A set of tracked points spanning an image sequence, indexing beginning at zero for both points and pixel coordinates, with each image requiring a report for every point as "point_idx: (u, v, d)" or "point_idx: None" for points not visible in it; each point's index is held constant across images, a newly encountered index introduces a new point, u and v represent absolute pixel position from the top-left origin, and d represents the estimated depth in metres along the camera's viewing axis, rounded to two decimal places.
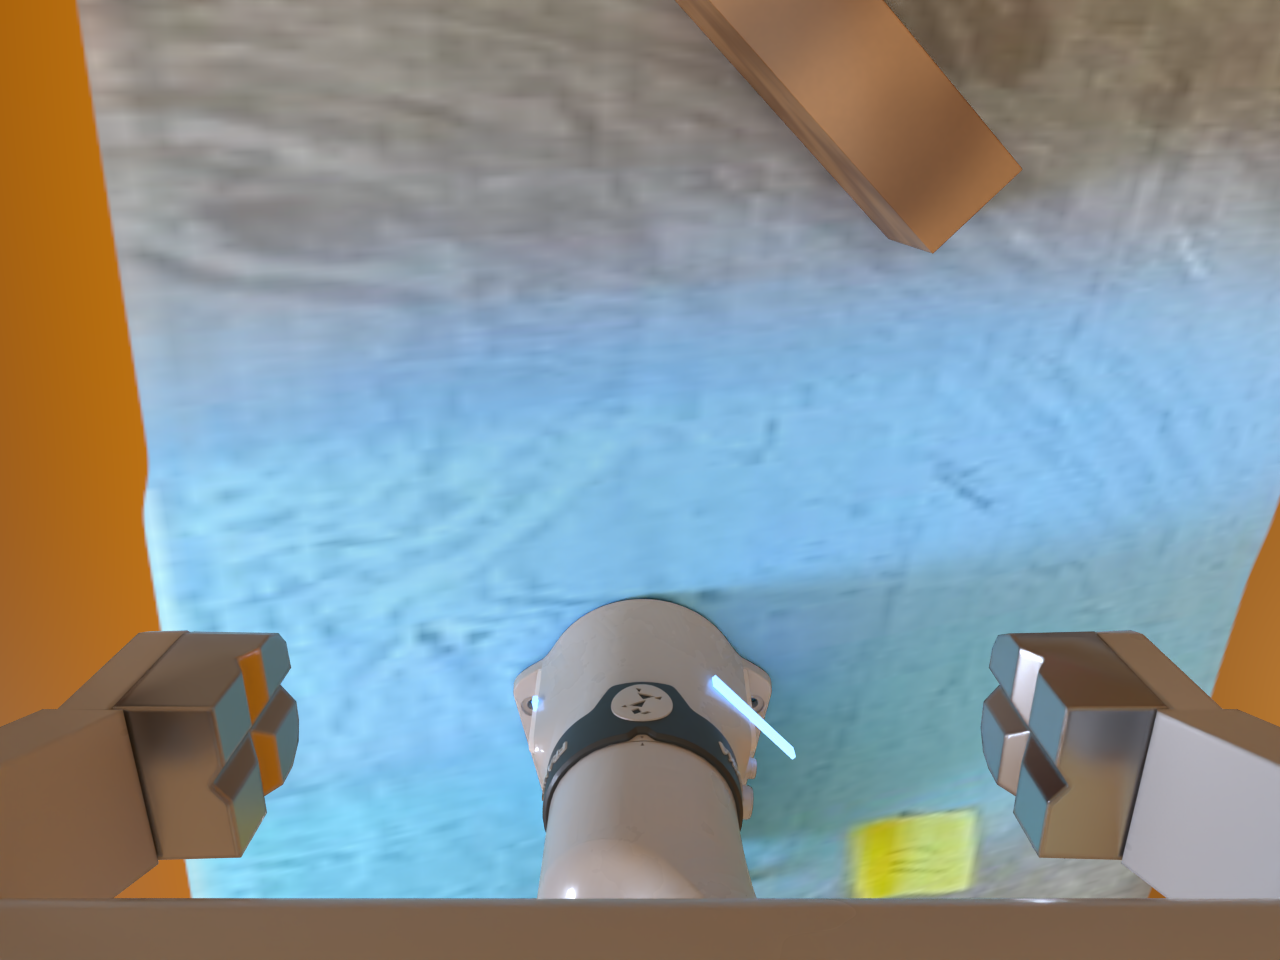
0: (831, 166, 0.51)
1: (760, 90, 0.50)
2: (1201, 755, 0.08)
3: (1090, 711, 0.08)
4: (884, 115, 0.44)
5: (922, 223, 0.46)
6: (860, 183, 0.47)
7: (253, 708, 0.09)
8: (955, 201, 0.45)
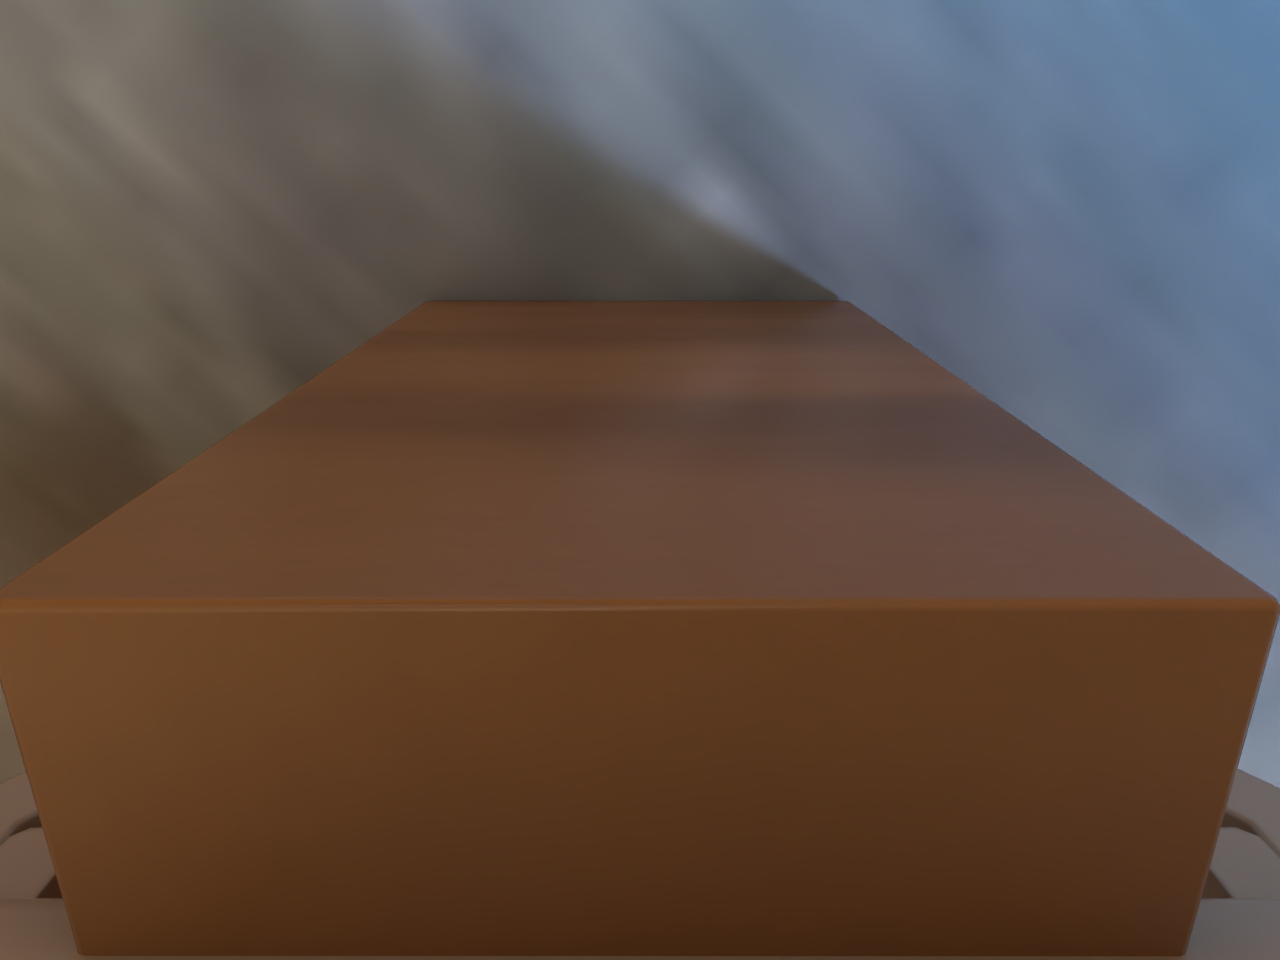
0: None
1: None
2: None
3: None
4: None
5: (1092, 882, 0.04)
6: None
7: None
8: (721, 826, 0.04)
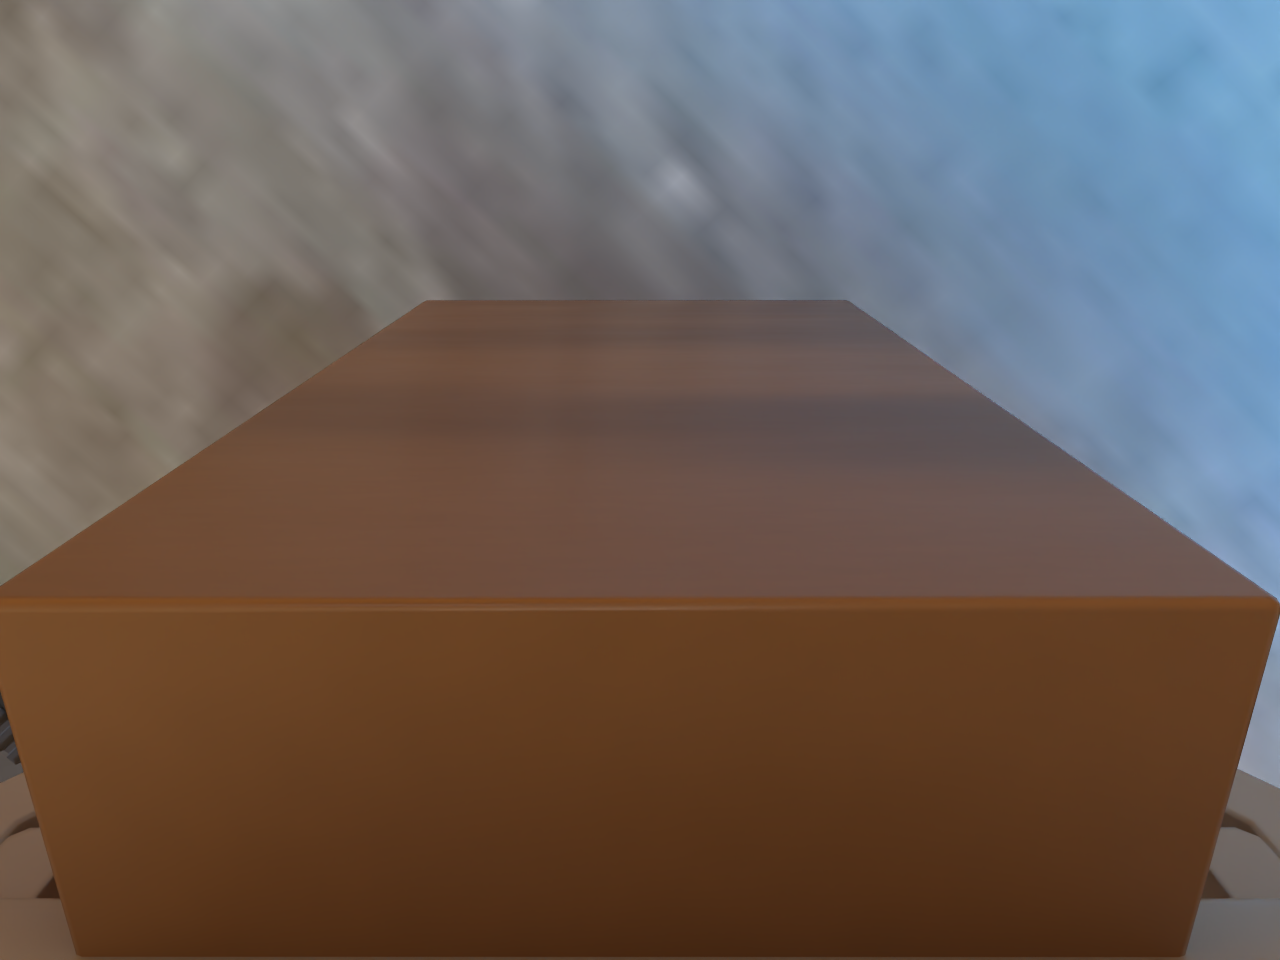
0: None
1: None
2: None
3: None
4: None
5: (1092, 882, 0.04)
6: None
7: None
8: (721, 825, 0.04)
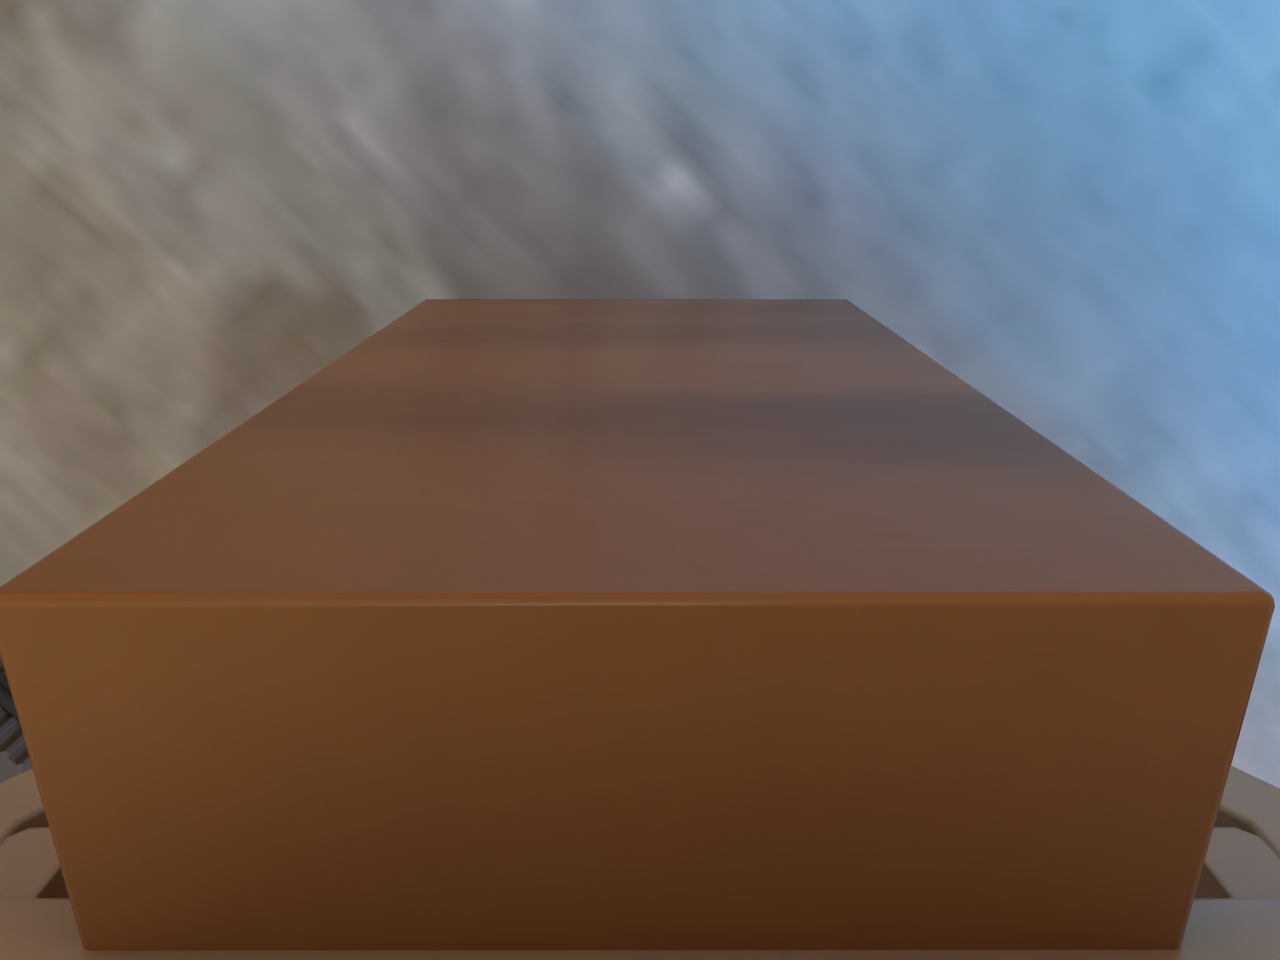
0: None
1: None
2: None
3: None
4: None
5: (1088, 875, 0.05)
6: None
7: None
8: (722, 817, 0.04)
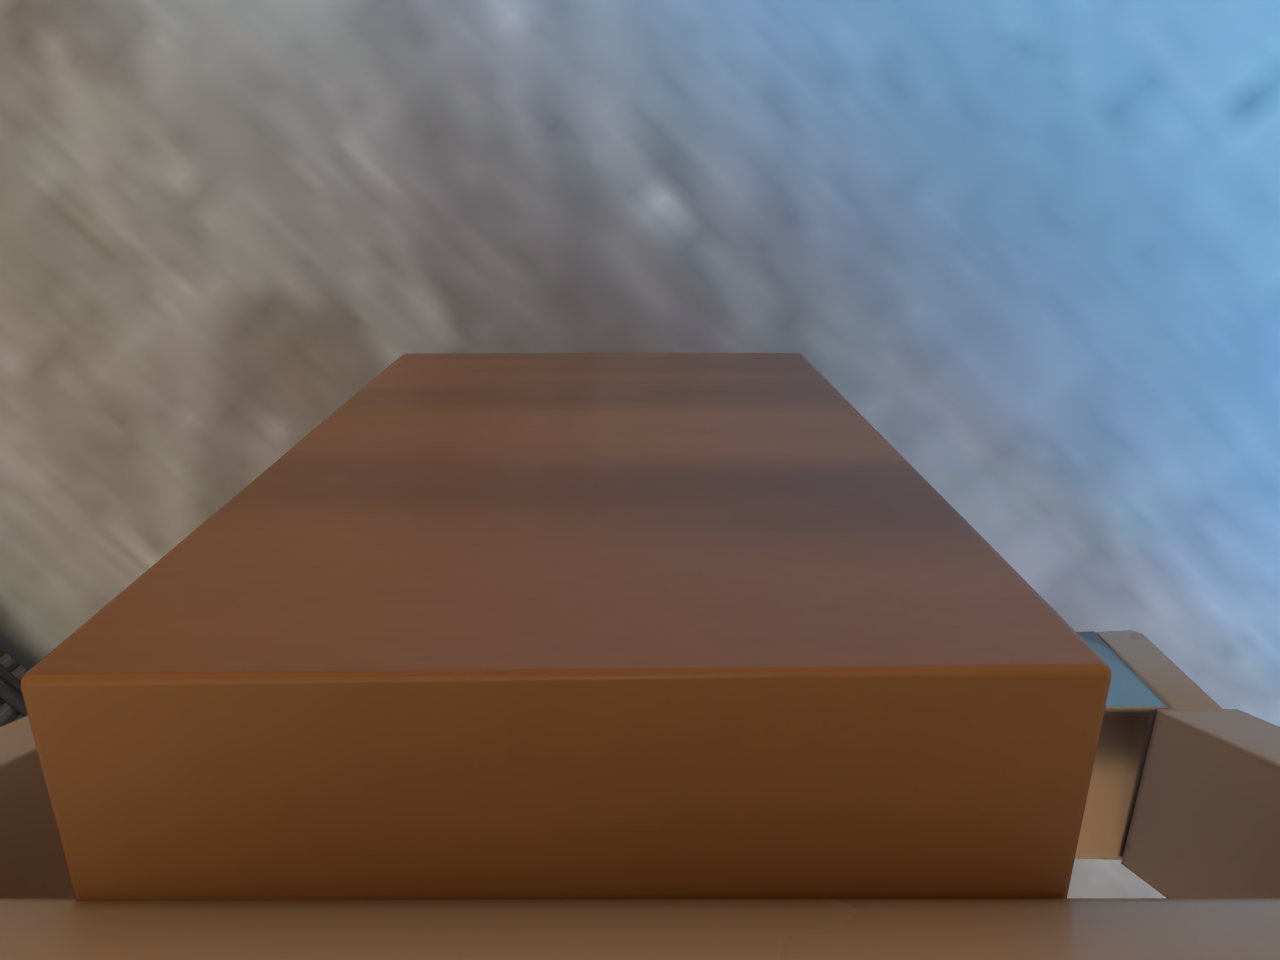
0: None
1: None
2: (1201, 755, 0.08)
3: None
4: None
5: None
6: None
7: None
8: (655, 858, 0.05)
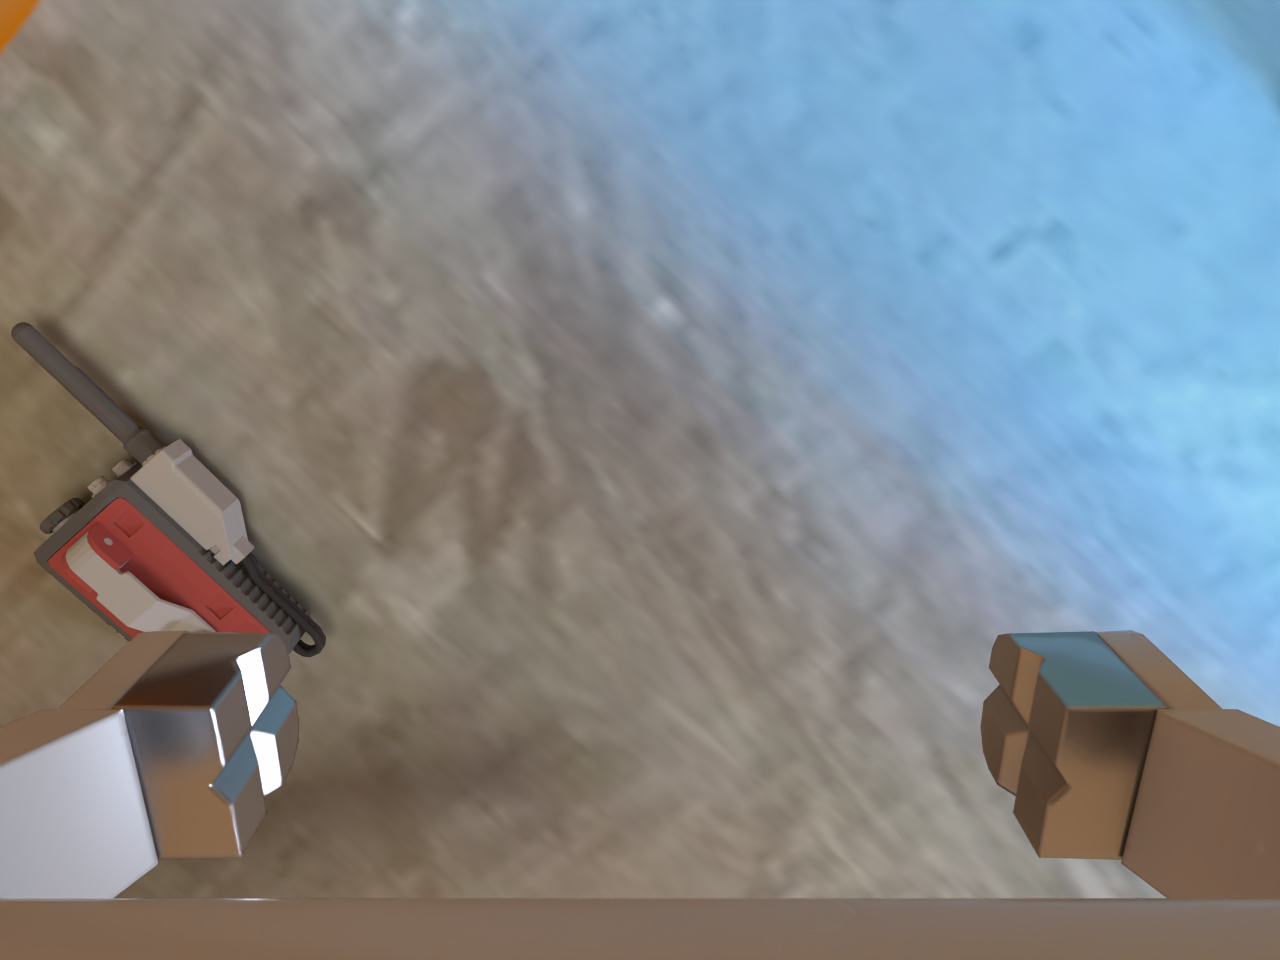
0: None
1: None
2: (1202, 756, 0.08)
3: (1090, 711, 0.08)
4: None
5: None
6: None
7: (253, 708, 0.09)
8: None
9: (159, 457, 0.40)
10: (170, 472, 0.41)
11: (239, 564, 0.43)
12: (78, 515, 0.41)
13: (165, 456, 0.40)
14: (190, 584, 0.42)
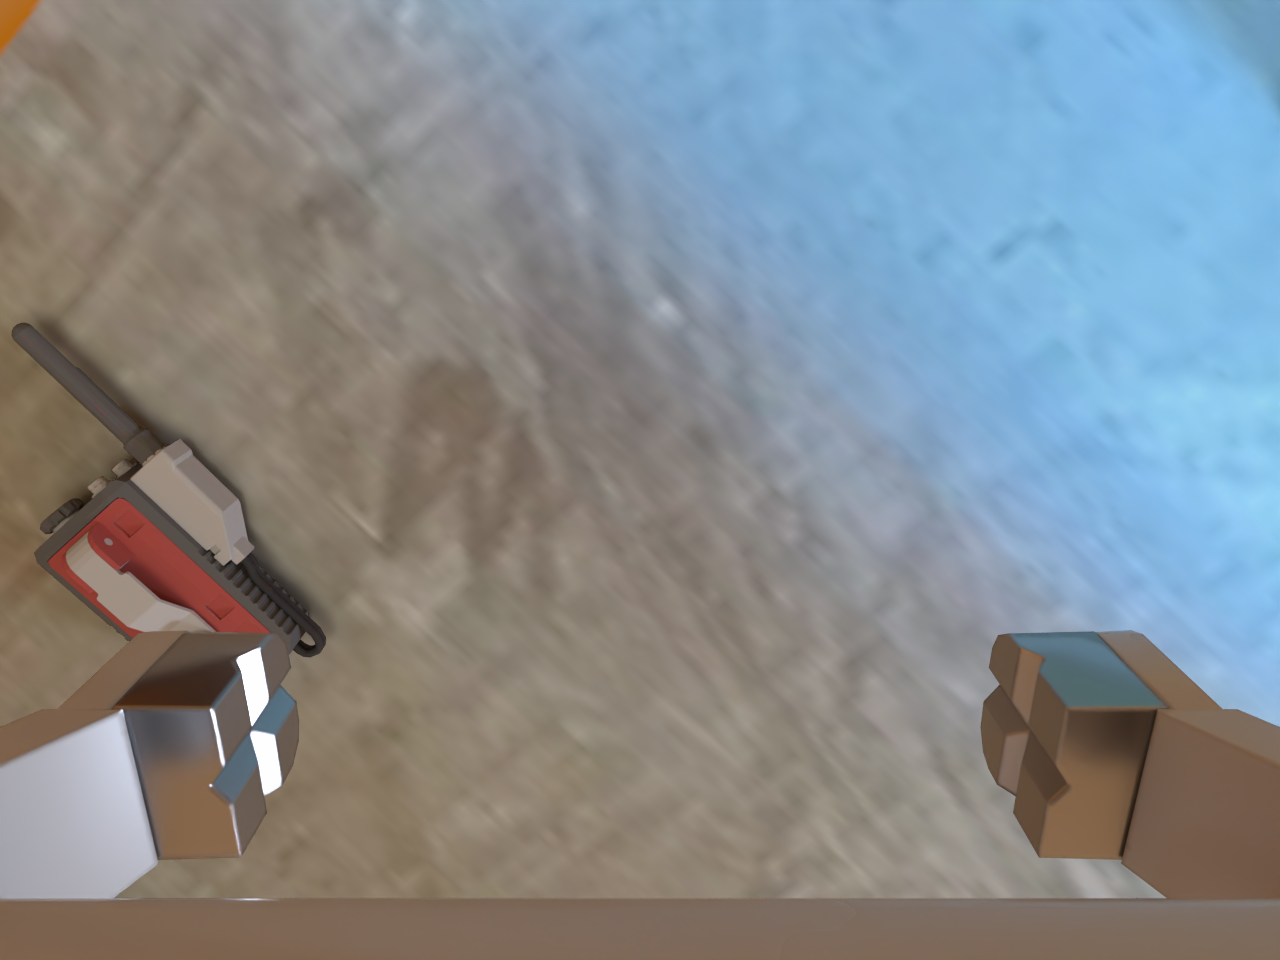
0: None
1: None
2: (1201, 755, 0.08)
3: (1090, 711, 0.08)
4: None
5: None
6: None
7: (253, 708, 0.09)
8: None
9: (159, 457, 0.40)
10: (170, 472, 0.41)
11: (239, 564, 0.43)
12: (78, 515, 0.41)
13: (165, 456, 0.40)
14: (191, 585, 0.42)
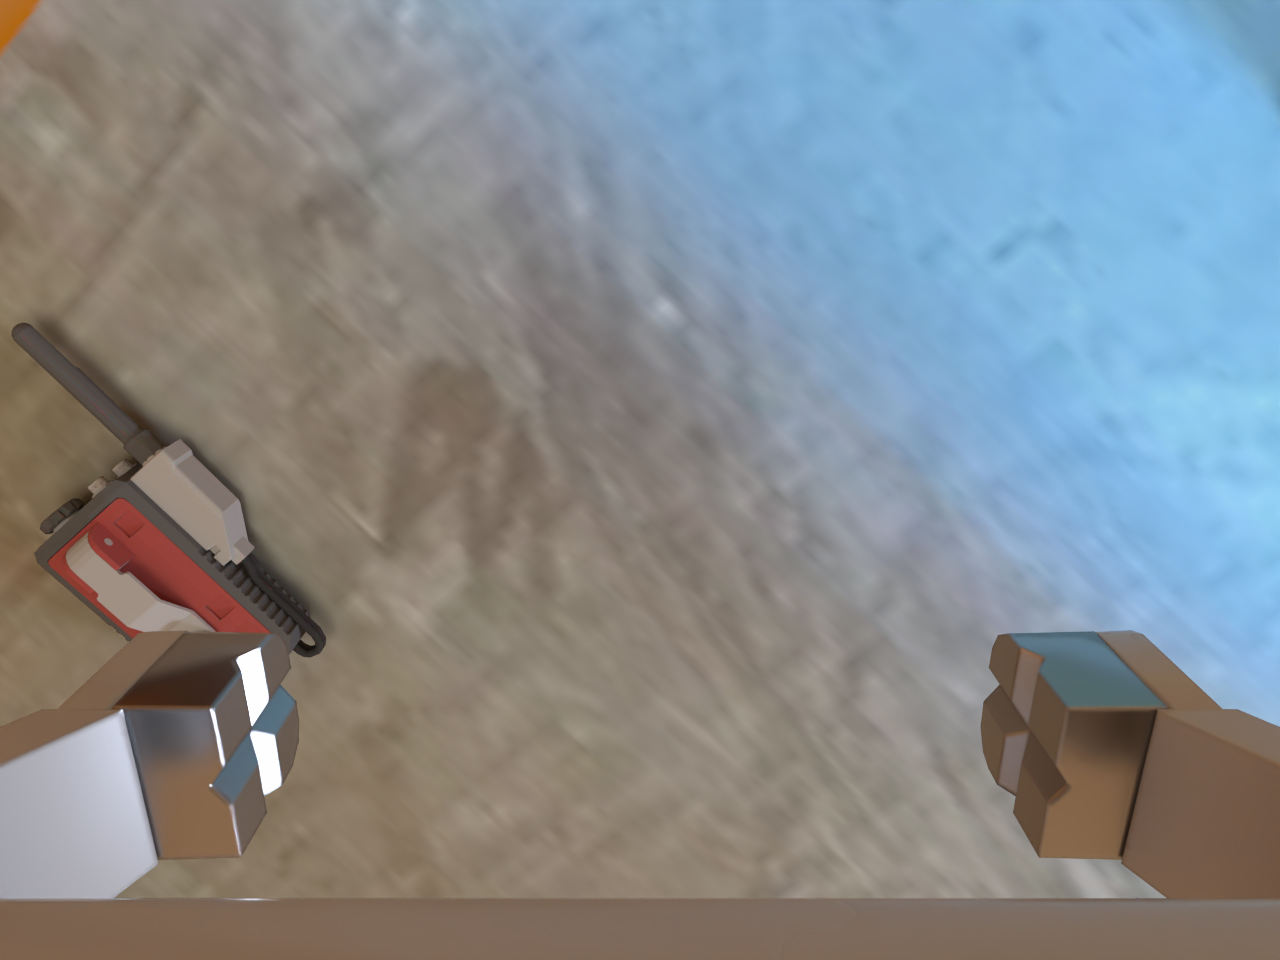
0: None
1: None
2: (1202, 756, 0.08)
3: (1091, 711, 0.08)
4: None
5: None
6: None
7: (253, 708, 0.09)
8: None
9: (159, 457, 0.40)
10: (170, 472, 0.41)
11: (239, 564, 0.43)
12: (78, 515, 0.41)
13: (165, 456, 0.40)
14: (191, 585, 0.42)
